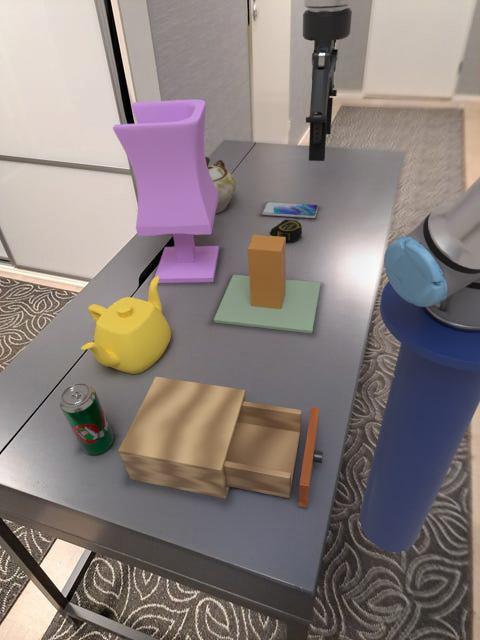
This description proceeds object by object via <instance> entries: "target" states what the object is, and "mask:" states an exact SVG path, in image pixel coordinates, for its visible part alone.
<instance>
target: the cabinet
mask: <svg viewBox="0 0 480 640" xmlns="http://www.w3.org/2000/svg"><path fill="white" fill-rule="evenodd" d="M243 401H245V402H247V392H246V389H242V388H235V387H229V386H222V385H215V384H208V383H201V382H195V381H188V380H182V379H174V378H169V377H160V376H154V379H153V381H152V382H151V385H150V387H149V388H148V391H147V393H146V396H144V398H143V401H142V402H141V405H140V406H139V409H138V411H137V413H136V414H135V416H134V418H133V421H132V423H131V425H130V427H129V429H128V430H127V432H126V434H125V436H124V438H123V440H122V442H121V444H120V446H119V448H118V451H117V452H118V453H119V456H120V457H121V458H120V459H121V460H122V462H123V464H124V468H125V469H126V472H127V474H128V477H129V479H130V480H132V481H135V482H142V483H146V484H152V485H157V486H161V487H166V488H170V489H176V490H180V491H184V492H185V491H186V492H190V493H193V494H200V495H204V496H210V497H213V498H218V499H223V500H227V498H228V494H229V490H230V488H231V487H230V486H226V482H225V476H224V470H223V467H224V464H225V461H226V457H227V454H228V451H229V447H230V444H231V441H232V437H233V434H234V430H235V427H236V424H237V420H238V417H239V414H240V410H241V407H242V404H243Z"/></svg>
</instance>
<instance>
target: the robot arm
mask: <svg viewBox="0 0 480 640" xmlns="http://www.w3.org/2000/svg"><path fill="white" fill-rule="evenodd" d="M353 3H354V0H303V6H304V7H305V8H307V9H306V10H305V11H304V13H302V37H303V39H305V40H307V41H309V42H311V41H315V42H316V49H314V50H313V52H312V54H311V65H312V68H311V81H312V82H311V93H310V105H309V106H310V108H309V116H306V117H305V123H307V124H309V142H308V145H309V146H308V161H309V162H325V159H326V143H327V135H331V133H332V117H333V101H334V97H337V94H338V90H337V89H335V72H336V67H337V61H338V57H339V49H338V48H336V43H337V41H339V40H344V39H346V38H347V37H348V38H349V36H350V34H351V29H352V28H351V26H352V25H351V24H352V14H353V10H352V9H351V8H350V6H351V4H353ZM383 266H384V268H385V269H384V270H385V275H386V278H387V280H388V281H389V282H390V284H391V285H392V287H393V288H394V290H395V291H396V292H397V293H398V294H399V295H400V296H401V297H402V298H403V299H404V300H406V301H407V302H409V303H413V304H414V305H416V306H420V307H423V309H424V310H425V312H426V313H427V314H428V315H429V316H430V317H431V318H432V319H433V320H435V321H436V322H438V323H439V324H441V325H443V326H446V327H448V328H451V329H454V330H458V331H462V332H470V333H480V176H479V177H477V179H476V180H474V182H473V183H472V184H471V185H470V186H469V188H467V189H466V190H465V191H463V192H462V193H461V194H460V197H458V198H457V199H456V201H446V202H442V203H439V204H438V205H437V206H435V207H434V208H433V209H432V210H431V211H430V212H429V214H428V215H427V216H426V217H425V218H424V219H423V220H422V221H421V222H420V223H419V224H418V225H417V226H416V227H415V228H414V229H413V230H412V231H411V232H409V233H407V234H406V235H402V236H399V237H397V238H396V239H395V241H393V242H391V243H390V244H389V245H388V247H386V250H385V253H384V257H383Z"/></svg>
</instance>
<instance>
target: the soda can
mask: <svg viewBox="0 0 480 640" xmlns="http://www.w3.org/2000/svg"><path fill="white" fill-rule="evenodd" d="M59 397H60V398H59V406H60V407H59V408H60V409H61V411H62V413H63V416H64V418H65V419H66V421H67V423H68V425H69V427H70V429H71V431H72V433H73V434H74V436H75V438H76V440H77V442H78V443H79V446H80V447H81V449H82V452H84V453H85V454H86V455H90V456H94V455H95V456H97V455H100V454H103V453H105V452H106V451H108V450H109V449H110V448H111V446H112V445H113V443H114V440H115V435H114V432H113V430H112V428H111V425H110V422H109V420H108V417H107V415H106V413H105V411H104V409H103V406H102V403H101V401H100V399H99V397H98V393H97V392H96V390H95V389H94V388H93V387H91V386H90V385H89V384H88V383H84V382H76V383H73V384H70V385H68V386H67V387H66V388H65V389H64V390H63V391H62V392H61V394H60V396H59Z"/></svg>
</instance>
